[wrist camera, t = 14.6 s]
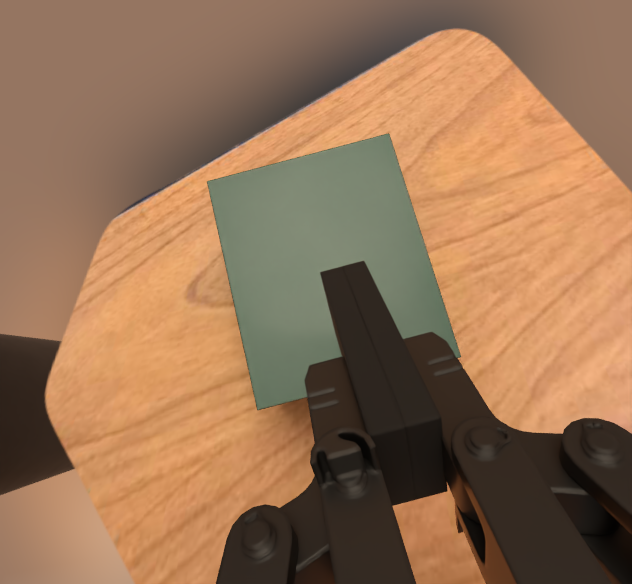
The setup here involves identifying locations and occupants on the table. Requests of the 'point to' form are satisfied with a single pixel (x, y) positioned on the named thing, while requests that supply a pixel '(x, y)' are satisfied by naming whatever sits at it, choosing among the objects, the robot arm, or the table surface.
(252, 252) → the bin lid
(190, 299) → the table surface
